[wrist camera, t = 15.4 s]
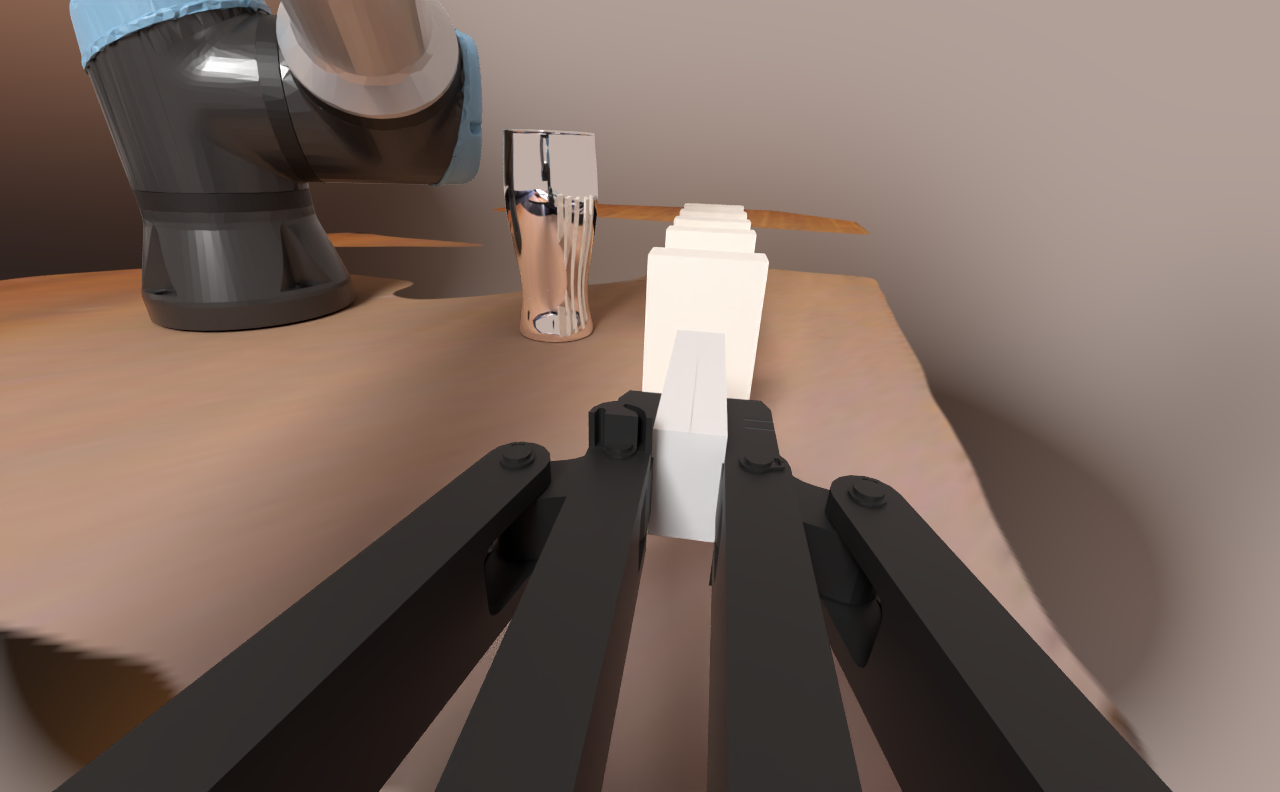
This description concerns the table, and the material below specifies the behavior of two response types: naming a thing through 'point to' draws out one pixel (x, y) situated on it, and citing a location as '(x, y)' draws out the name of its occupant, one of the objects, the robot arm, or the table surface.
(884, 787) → the table surface
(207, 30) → the robot arm
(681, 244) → the tile
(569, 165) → the silver metal tumbler
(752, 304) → the tile
